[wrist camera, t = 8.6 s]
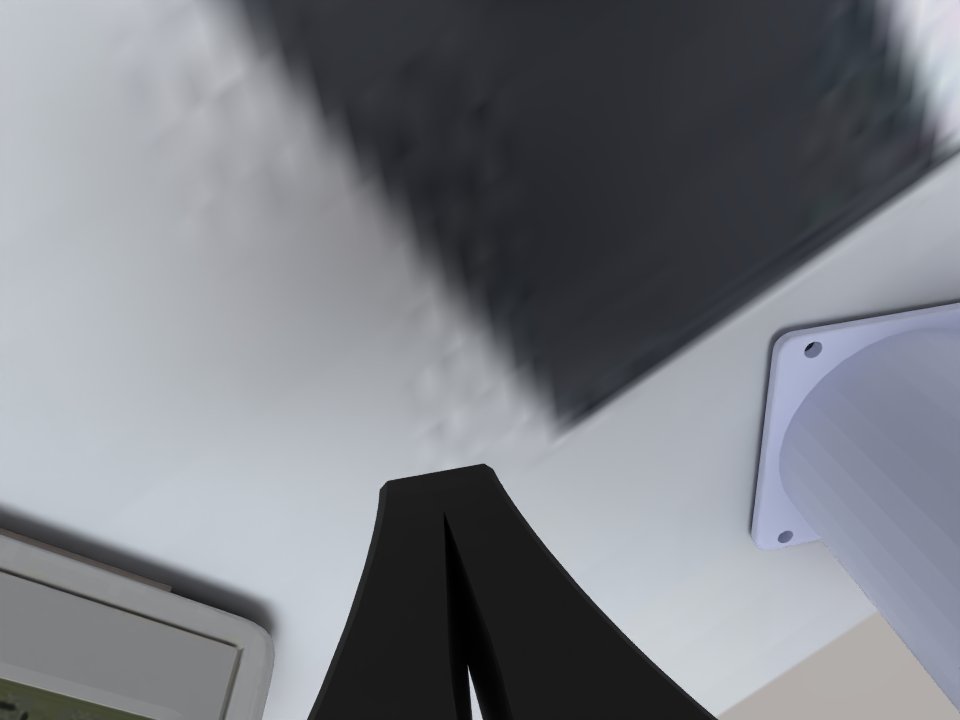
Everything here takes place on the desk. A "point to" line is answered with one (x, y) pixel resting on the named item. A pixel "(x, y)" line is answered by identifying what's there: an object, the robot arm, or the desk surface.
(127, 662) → the digital clock
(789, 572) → the desk surface
